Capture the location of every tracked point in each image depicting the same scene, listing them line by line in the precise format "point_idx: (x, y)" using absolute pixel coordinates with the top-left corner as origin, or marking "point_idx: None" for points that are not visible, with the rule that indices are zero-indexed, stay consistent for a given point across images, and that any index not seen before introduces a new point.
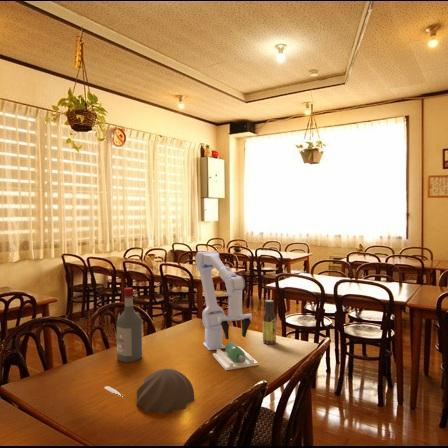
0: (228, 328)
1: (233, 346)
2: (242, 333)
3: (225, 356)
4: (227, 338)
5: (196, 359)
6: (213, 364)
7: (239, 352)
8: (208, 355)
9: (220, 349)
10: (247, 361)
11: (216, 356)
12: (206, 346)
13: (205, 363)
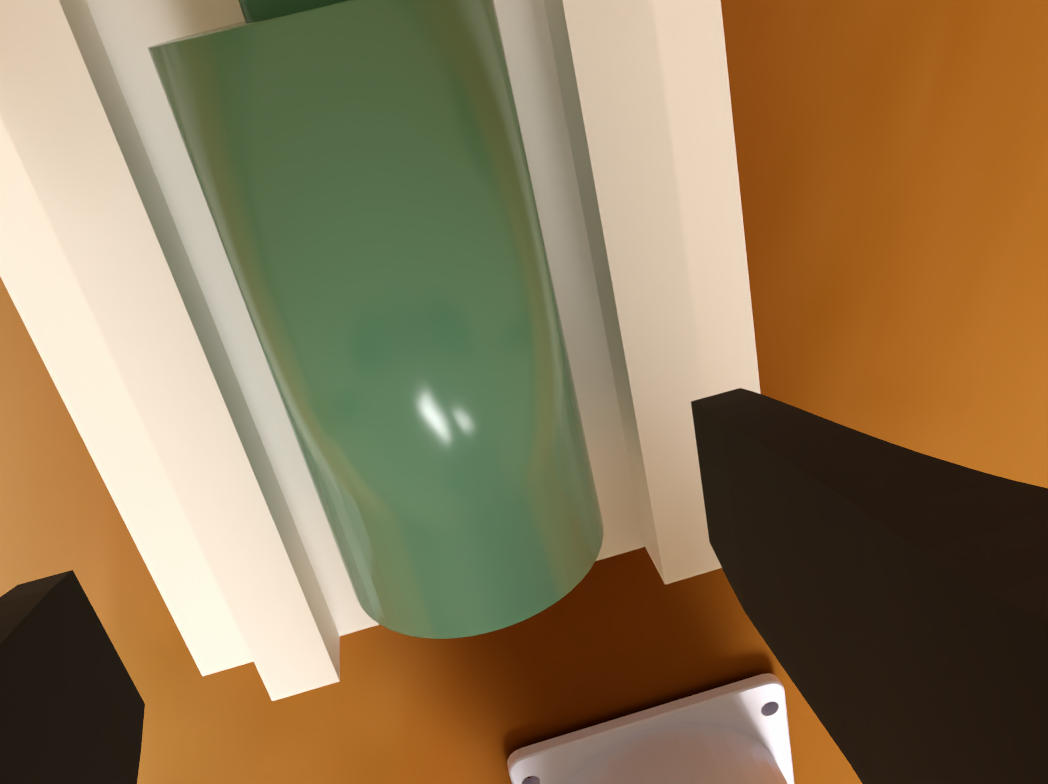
0: (998, 583)
1: (460, 363)
2: (116, 762)
3: (633, 195)
4: (740, 398)
5: (1038, 355)
6: (834, 104)
7: (311, 8)
8: None
9: (661, 560)
10: (115, 34)
11: (744, 372)
12: (790, 774)
13: (954, 170)
